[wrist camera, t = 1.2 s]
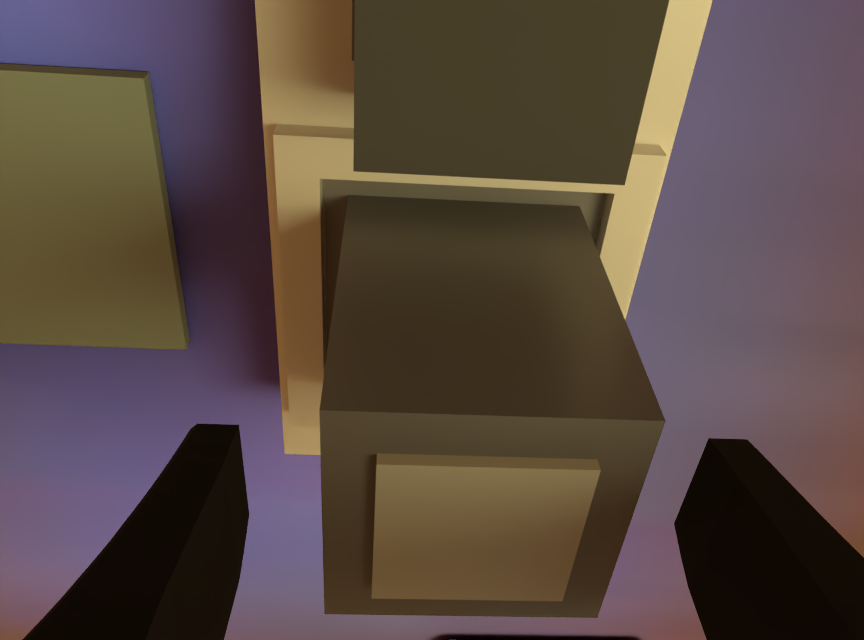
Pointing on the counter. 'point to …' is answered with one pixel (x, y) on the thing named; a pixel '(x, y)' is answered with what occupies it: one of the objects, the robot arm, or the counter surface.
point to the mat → (85, 212)
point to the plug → (502, 87)
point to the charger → (477, 413)
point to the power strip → (412, 178)
